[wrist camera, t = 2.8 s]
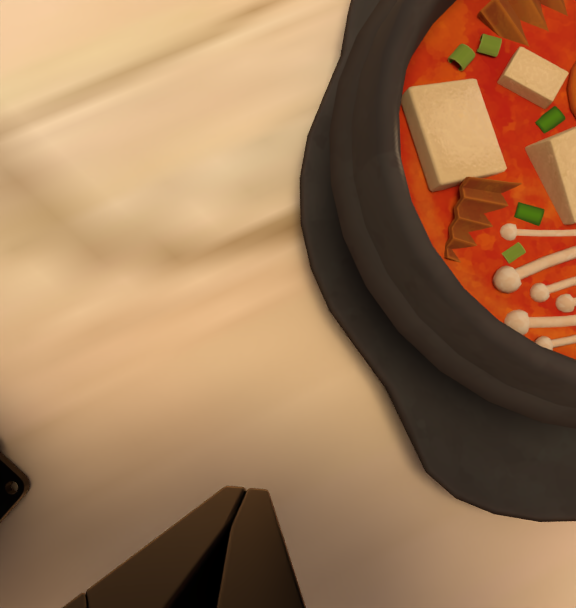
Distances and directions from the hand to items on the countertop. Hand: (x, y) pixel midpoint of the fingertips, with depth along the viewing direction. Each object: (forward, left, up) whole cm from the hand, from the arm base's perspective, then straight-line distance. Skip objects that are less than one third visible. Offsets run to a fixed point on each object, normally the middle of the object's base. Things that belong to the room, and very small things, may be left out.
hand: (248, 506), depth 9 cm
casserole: (+14, -2, -11) cm, 18 cm away
